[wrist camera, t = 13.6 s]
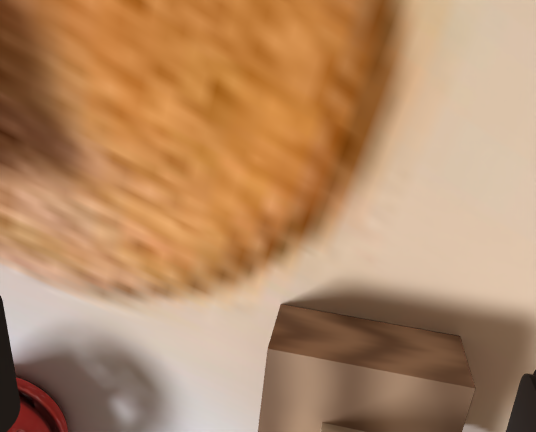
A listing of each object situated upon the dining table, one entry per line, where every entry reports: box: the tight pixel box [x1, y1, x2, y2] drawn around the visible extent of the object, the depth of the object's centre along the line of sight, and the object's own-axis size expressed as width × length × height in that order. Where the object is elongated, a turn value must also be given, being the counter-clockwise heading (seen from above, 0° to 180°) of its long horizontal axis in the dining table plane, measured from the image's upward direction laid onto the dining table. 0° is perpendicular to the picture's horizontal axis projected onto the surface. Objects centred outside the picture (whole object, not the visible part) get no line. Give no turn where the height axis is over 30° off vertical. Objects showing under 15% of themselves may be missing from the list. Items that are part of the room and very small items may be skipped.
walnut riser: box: [258, 304, 475, 432], centre depth 40 cm, size 14×16×6 cm
